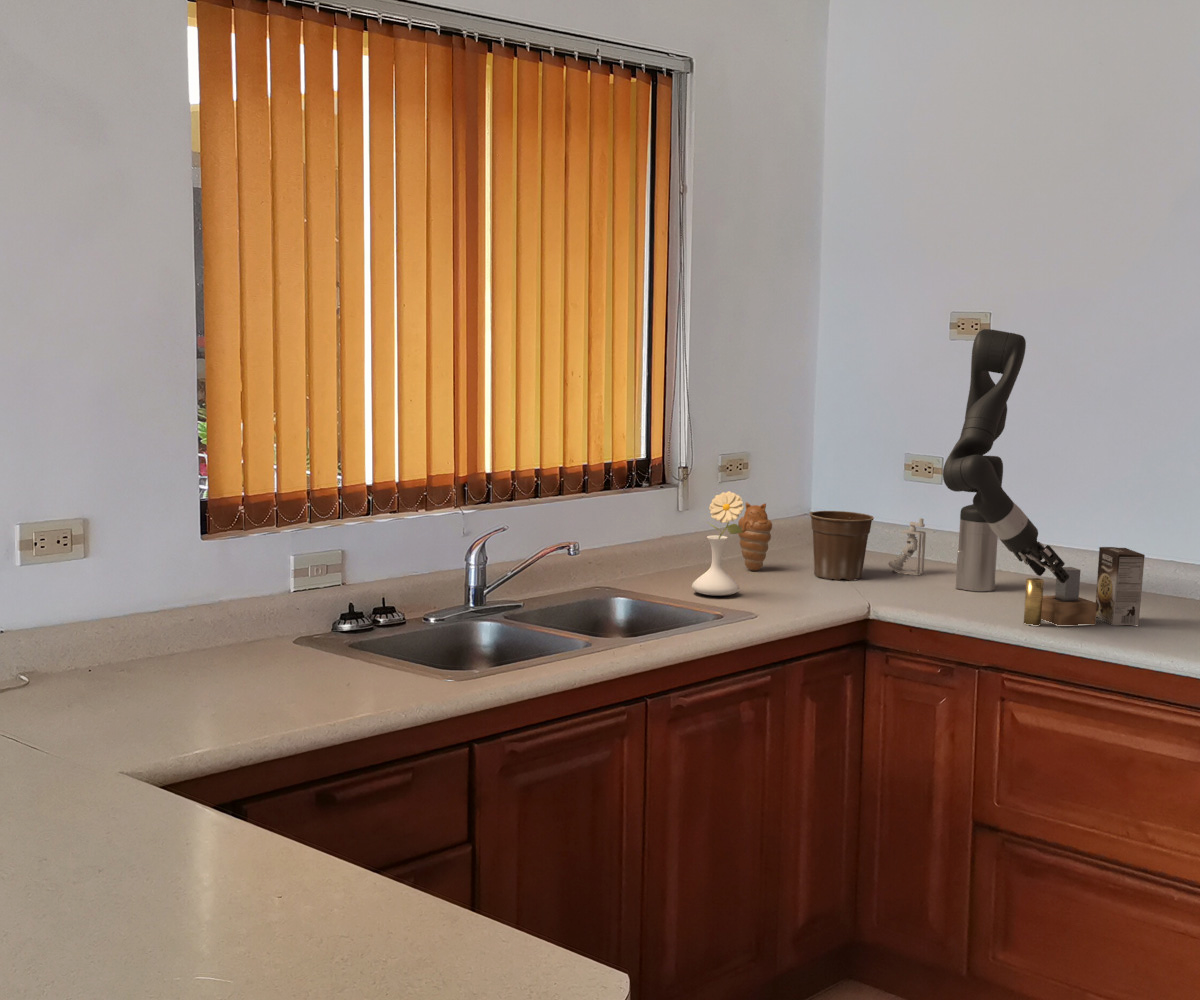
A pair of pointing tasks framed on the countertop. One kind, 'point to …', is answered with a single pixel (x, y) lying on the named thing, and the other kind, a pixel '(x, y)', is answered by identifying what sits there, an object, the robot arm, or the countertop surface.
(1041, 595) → the round bit
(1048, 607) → the bore block
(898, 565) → the clamp
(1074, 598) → the square bit
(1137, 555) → the coffee box
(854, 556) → the plant pot
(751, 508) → the cat ice cream
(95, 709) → the countertop surface
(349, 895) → the countertop surface
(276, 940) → the countertop surface
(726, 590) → the flower in vase
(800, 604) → the countertop surface
